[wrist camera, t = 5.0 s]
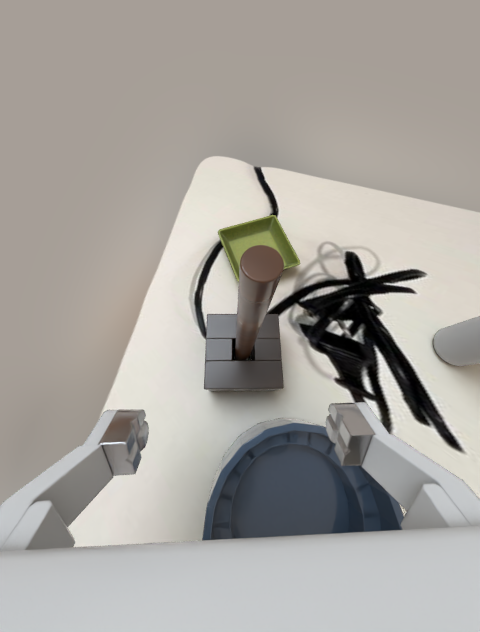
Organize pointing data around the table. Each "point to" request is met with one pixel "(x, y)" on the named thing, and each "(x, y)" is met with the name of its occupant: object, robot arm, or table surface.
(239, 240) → the saucer
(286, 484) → the bowl
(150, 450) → the table surface
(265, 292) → the stick
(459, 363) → the beverage can
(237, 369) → the holder
